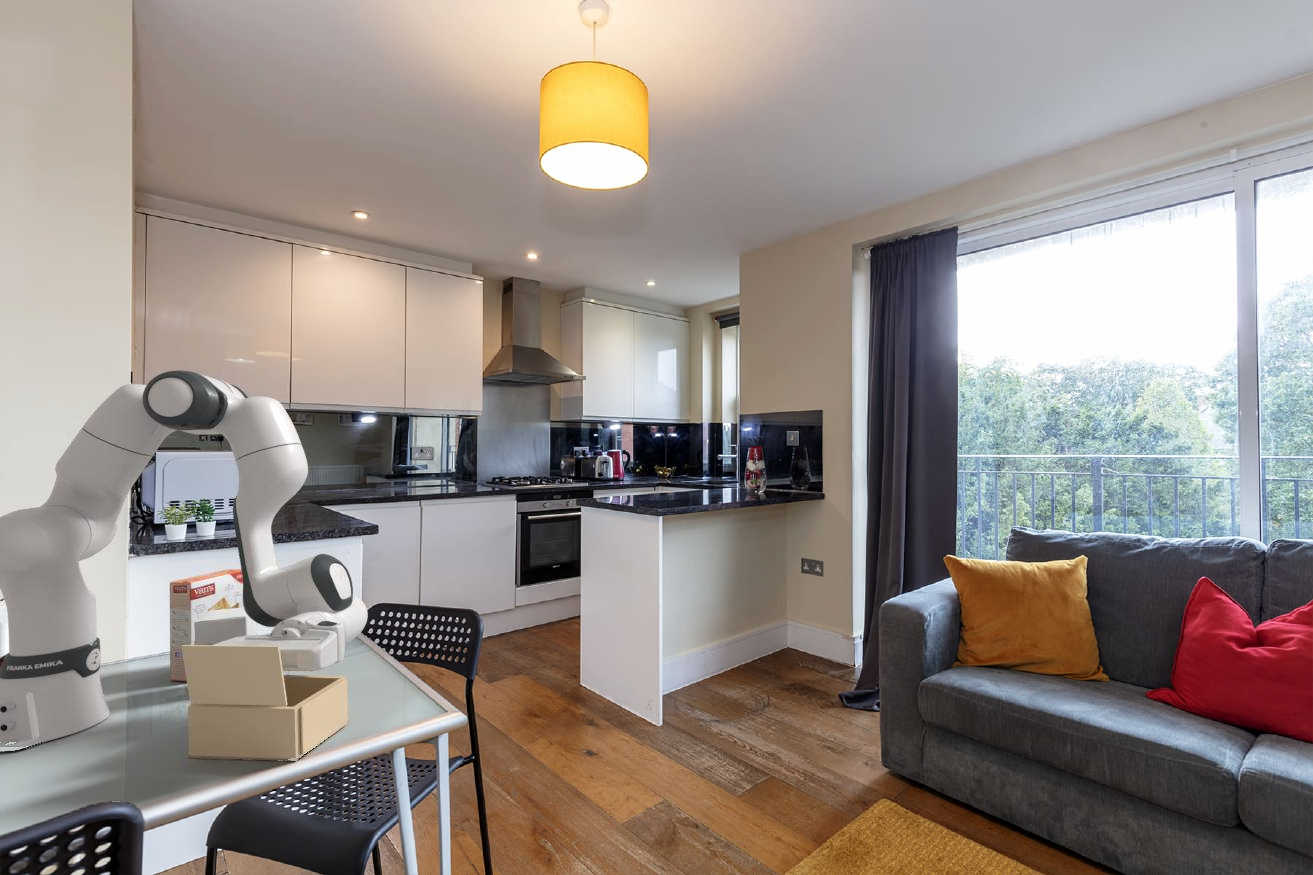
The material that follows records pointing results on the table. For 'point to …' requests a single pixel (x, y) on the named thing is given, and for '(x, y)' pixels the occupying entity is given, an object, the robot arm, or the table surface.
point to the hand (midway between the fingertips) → (235, 670)
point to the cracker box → (198, 609)
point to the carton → (271, 722)
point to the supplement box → (223, 626)
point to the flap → (234, 675)
